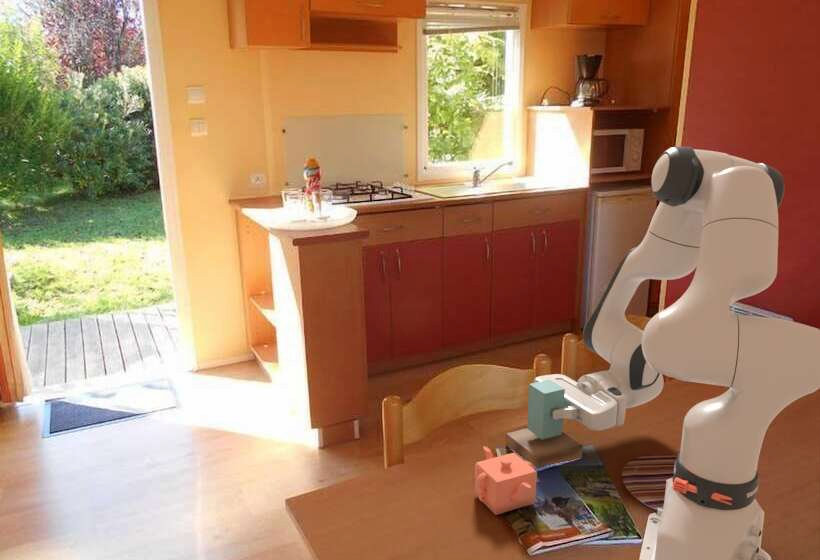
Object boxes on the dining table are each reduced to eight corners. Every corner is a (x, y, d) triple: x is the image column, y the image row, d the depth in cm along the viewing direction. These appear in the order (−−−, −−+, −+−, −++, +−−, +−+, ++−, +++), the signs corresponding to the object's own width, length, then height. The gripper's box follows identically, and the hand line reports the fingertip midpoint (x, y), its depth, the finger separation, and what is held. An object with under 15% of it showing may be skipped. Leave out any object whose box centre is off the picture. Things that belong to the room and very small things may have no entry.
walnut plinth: (581, 459, 131) (582, 445, 130) (537, 472, 126) (538, 458, 125) (548, 435, 140) (548, 422, 139) (505, 446, 136) (506, 433, 135)
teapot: (499, 534, 108) (500, 490, 106) (455, 488, 121) (456, 448, 119) (556, 516, 113) (559, 473, 110) (509, 473, 126) (510, 434, 124)
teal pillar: (561, 434, 131) (564, 388, 128) (541, 439, 129) (544, 393, 126) (546, 423, 135) (549, 379, 133) (527, 428, 133) (529, 384, 130)
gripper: (565, 363, 144) (513, 374, 138) (631, 399, 126) (575, 414, 121) (563, 389, 146) (512, 401, 140) (629, 428, 128) (573, 444, 122)
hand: (542, 407), depth 130 cm, fingers closed on teal pillar, 5 cm apart
